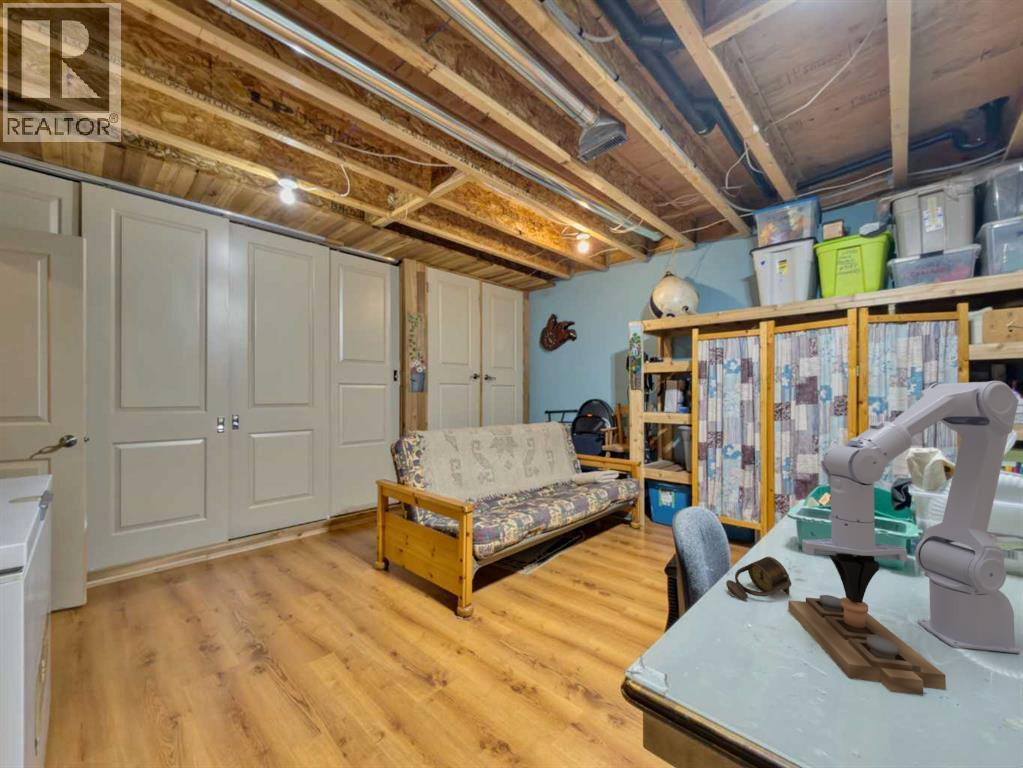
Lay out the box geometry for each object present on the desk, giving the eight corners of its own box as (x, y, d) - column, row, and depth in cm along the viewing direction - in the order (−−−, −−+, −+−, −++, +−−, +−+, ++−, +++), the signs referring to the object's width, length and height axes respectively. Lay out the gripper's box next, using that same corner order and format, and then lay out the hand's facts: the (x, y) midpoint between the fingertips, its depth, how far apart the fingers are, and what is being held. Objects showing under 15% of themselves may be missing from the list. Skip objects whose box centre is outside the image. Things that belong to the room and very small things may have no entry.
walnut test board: (853, 612, 81) (852, 597, 81) (957, 699, 58) (957, 678, 58) (784, 605, 84) (783, 591, 84) (857, 687, 60) (857, 666, 60)
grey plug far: (837, 614, 79) (837, 595, 79) (848, 624, 75) (848, 605, 76) (816, 612, 80) (815, 594, 80) (826, 622, 76) (825, 603, 76)
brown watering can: (806, 580, 83) (781, 550, 93) (738, 571, 84) (720, 543, 94) (798, 612, 85) (774, 579, 94) (732, 602, 86) (714, 571, 96)
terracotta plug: (860, 618, 72) (859, 598, 72) (873, 630, 69) (873, 608, 69) (836, 616, 73) (836, 596, 73) (848, 627, 69) (848, 606, 70)
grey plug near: (888, 660, 65) (887, 637, 65) (905, 675, 62) (904, 651, 62) (861, 657, 66) (861, 634, 66) (876, 671, 62) (876, 648, 63)
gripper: (886, 514, 74) (887, 593, 73) (793, 509, 77) (794, 585, 76) (916, 526, 67) (918, 613, 67) (813, 520, 70) (814, 604, 69)
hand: (853, 600), depth 71 cm, fingers closed
